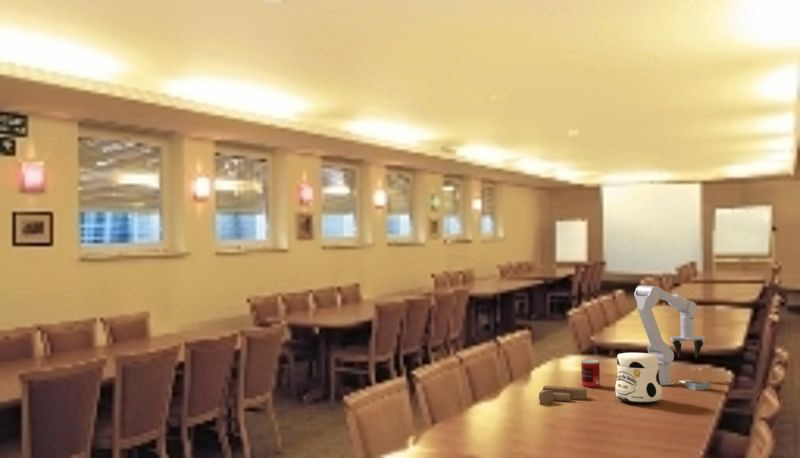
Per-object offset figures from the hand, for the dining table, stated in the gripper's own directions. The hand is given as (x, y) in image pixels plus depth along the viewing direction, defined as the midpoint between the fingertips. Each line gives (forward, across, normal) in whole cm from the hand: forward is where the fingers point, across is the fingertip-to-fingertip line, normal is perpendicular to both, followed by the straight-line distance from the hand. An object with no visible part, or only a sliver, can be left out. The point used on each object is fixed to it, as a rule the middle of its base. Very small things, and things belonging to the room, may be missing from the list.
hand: (688, 357), depth 318 cm
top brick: (+7, -3, -19) cm, 20 cm away
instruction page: (+10, -2, -8) cm, 13 cm away
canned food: (+10, -46, -13) cm, 49 cm away
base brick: (+10, -3, -18) cm, 21 cm away
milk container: (+10, -34, -42) cm, 56 cm away
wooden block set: (+11, -64, -41) cm, 77 cm away
